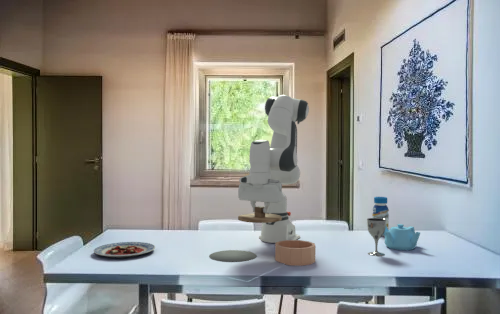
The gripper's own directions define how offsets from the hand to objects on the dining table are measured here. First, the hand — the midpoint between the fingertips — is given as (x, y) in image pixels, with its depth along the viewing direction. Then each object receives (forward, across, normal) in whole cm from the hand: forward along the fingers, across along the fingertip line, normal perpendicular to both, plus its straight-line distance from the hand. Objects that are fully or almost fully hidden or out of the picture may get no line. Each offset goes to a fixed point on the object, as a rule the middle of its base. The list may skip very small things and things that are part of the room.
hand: (260, 212), depth 172 cm
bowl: (+19, -13, -6) cm, 24 cm away
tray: (+19, +10, +5) cm, 22 cm away
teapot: (+20, -41, -54) cm, 71 cm away
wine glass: (+19, -37, -35) cm, 54 cm away
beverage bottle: (+20, -24, -78) cm, 84 cm away
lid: (+3, 0, 0) cm, 3 cm away
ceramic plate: (+19, +53, +27) cm, 62 cm away
